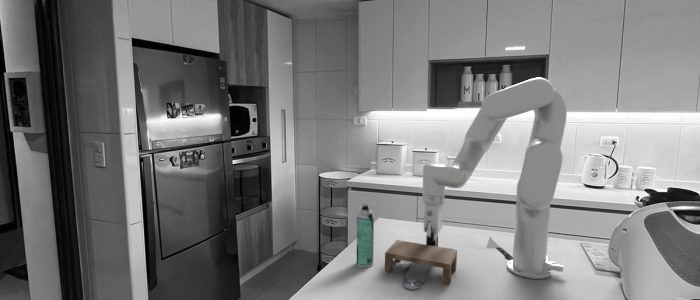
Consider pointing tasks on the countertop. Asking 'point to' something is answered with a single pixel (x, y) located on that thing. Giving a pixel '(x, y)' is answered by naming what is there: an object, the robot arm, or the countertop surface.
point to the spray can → (365, 237)
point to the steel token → (411, 284)
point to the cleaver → (493, 245)
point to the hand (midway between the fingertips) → (431, 248)
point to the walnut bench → (422, 257)
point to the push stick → (419, 270)
